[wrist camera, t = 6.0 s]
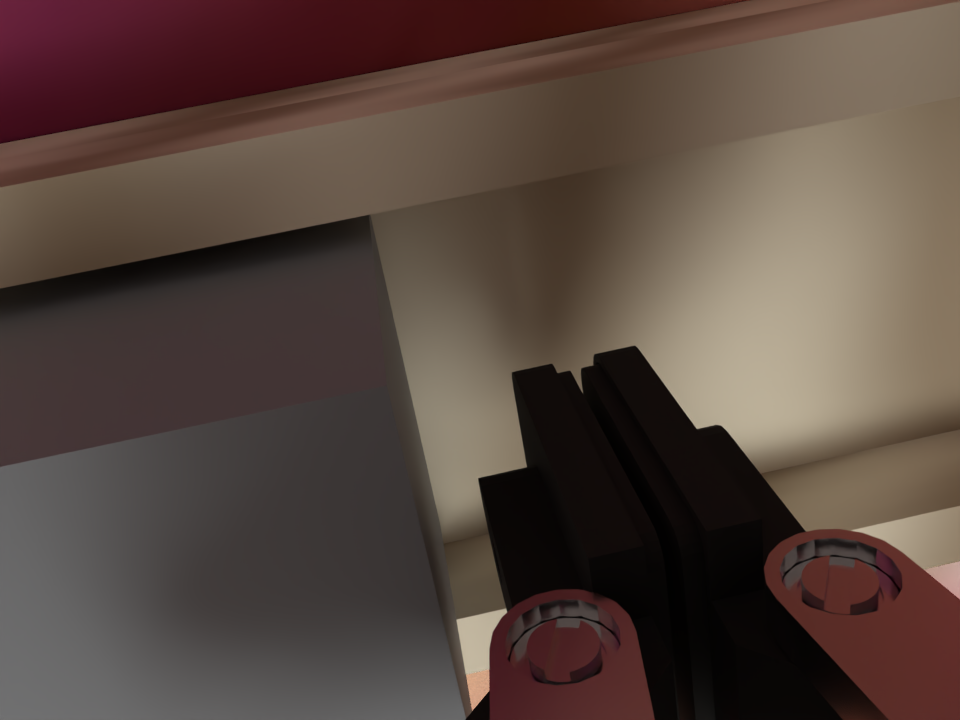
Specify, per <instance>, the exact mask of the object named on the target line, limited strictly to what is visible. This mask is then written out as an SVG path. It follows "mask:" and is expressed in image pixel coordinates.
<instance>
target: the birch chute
mask: <svg viewBox="0 0 960 720" xmlns="http://www.w3.org/2000/svg"><path fill="white" fill-rule="evenodd" d="M365 215H371V220H372V224H373V229H374V233H375V238H376V242H377V247H378V251H379V255H380V260H381V264H382V269H383V273H384V278H385V282H386V286H387V291H388V295H389V300H390V304H391V309H392V313H393V318H394V322H395V326H396V331H397V335H398V340H399V344H400V349H401V353H402V357H403V362H404V366H405V371H406V375H407V380H408V384H409V389H410V393H411V397H412V402H413V406H414V411H415V415H416V420H417V424H418V428H419V433H420V437H421V442H422V446H423V451H424V455H425V460H426V464H427V468H428V473H429V477H430V482H431V486H432V491H433V495H434V499H435V504H436V508H437V513H438V517H439V522H440V526H441V532H442V538H443V544H444V550H445V556H446V561H447V567H448V573H449V579H450V585H451V591H452V597H453V603H454V609H455V614H456V620H457V626H458V632H459V638H460V644H461V650H462V656H463V661H464V667H465V673H466V675H467V674H471V673H475V672H480V671H484V670H489V648H490V643H491V638H492V633H493V631H494V629H495V627H496V626H497V624H498V623H499V621H500V620H501V618H502V616H504V615H505V614H506V613H507V610H506V606H505V602H504V598H503V594H502V590H501V586H500V582H499V577H498V573H497V569H496V564H495V560H494V555H493V551H492V546H491V542H490V537H489V532H488V527H487V522H486V517H485V513H484V508H483V503H482V498H481V493H480V487H479V482H478V478H481V477H485V476H490V475H494V474H499V473H503V472H508V471H512V470H517V469H521V468H526V467H527V465H526V459H525V453H524V448H523V442H522V436H521V430H520V424H519V419H518V413H517V407H516V401H515V395H514V389H513V383H512V372H515V371H519V370H524V369H529V368H533V367H538V366H542V365H547V364H553V365H554V367H555V369H556V371H557V373H560V372H565V371H571V372H572V374H573V376H574V378H575V380H576V382H577V384H578V385H579V387H580V389H581V391H582V393H583V389H582V382H581V368H583V367H588V366H592V365H593V357H594V354H597V353H602V352H607V351H611V350H616V349H620V348H625V347H630V346H636V347H637V348H638V349H639V350H640V351H641V353H642V354H643V356H644V357H645V358H646V360H647V361H648V363H649V364H650V365H651V367H652V368H653V369H654V371H655V372H656V374H657V375H658V376H659V378H660V379H661V380H662V382H663V383H664V385H665V386H666V387H667V389H668V390H669V391H670V393H671V394H672V396H673V397H674V398H675V400H676V401H677V402H678V404H679V405H680V407H681V408H682V409H683V411H684V412H685V413H686V415H687V416H688V418H689V419H690V420H691V422H692V423H693V424H694V426H695V427H696V429H700V428H704V427H709V426H713V425H721V426H722V427H723V428H724V429H725V430H726V431H727V432H728V433H729V434H730V435H731V437H732V438H733V439H734V440H735V442H736V443H737V444H738V446H739V447H740V448H741V449H742V451H743V452H744V453H745V455H746V456H747V457H748V458H749V460H750V461H751V462H752V463H753V465H754V466H755V467H756V469H757V470H758V471H759V472H760V474H761V475H762V476H763V477H764V479H765V480H766V481H767V483H768V484H769V485H770V486H771V488H772V489H773V490H774V492H775V493H776V494H777V495H778V497H779V498H780V499H781V500H782V502H783V503H784V504H785V506H786V507H787V508H788V509H789V511H790V512H791V513H792V514H793V516H794V517H795V518H796V520H797V521H798V522H799V523H800V525H801V526H802V527H803V528H804V530H805V531H806V532H808V531H812V530H817V529H843V530H849V531H855V532H862V533H865V534H868V535H870V536H873V537H876V538H879V539H881V540H884V541H886V542H887V543H889V544H890V545H892V546H894V547H895V548H897V549H898V550H900V551H901V552H903V553H904V554H905V555H906V556H908V557H909V558H910V559H911V560H912V561H914V562H915V563H916V564H917V565H919V566H920V567H921V568H922V569H923V570H924V569H928V568H932V567H937V566H941V565H945V564H950V563H954V562H958V561H960V0H749V1H744V2H739V3H734V4H728V5H723V6H718V7H713V8H707V9H702V10H697V11H692V12H687V13H681V14H676V15H671V16H666V17H660V18H655V19H650V20H645V21H640V22H634V23H629V24H624V25H619V26H613V27H608V28H603V29H598V30H592V31H587V32H582V33H577V34H572V35H566V36H561V37H556V38H551V39H545V40H540V41H535V42H530V43H525V44H519V45H514V46H509V47H504V48H498V49H493V50H488V51H483V52H478V53H472V54H467V55H462V56H457V57H451V58H446V59H441V60H436V61H430V62H425V63H420V64H415V65H410V66H404V67H399V68H394V69H389V70H383V71H378V72H373V73H368V74H363V75H357V76H352V77H347V78H342V79H336V80H331V81H326V82H321V83H315V84H310V85H305V86H300V87H295V88H289V89H284V90H279V91H274V92H268V93H263V94H258V95H253V96H248V97H242V98H237V99H232V100H227V101H221V102H216V103H211V104H206V105H201V106H195V107H190V108H185V109H180V110H174V111H169V112H164V113H159V114H153V115H148V116H143V117H138V118H133V119H127V120H122V121H117V122H112V123H106V124H101V125H96V126H91V127H86V128H80V129H75V130H70V131H65V132H59V133H54V134H49V135H44V136H39V137H33V138H28V139H23V140H18V141H12V142H7V143H2V144H0V288H5V287H10V286H15V285H20V284H25V283H30V282H35V281H40V280H45V279H50V278H55V277H60V276H65V275H70V274H75V273H80V272H85V271H90V270H95V269H100V268H105V267H110V266H115V265H120V264H125V263H130V262H135V261H140V260H145V259H150V258H155V257H160V256H165V255H170V254H175V253H180V252H185V251H190V250H195V249H200V248H205V247H210V246H215V245H220V244H225V243H230V242H235V241H240V240H245V239H250V238H255V237H260V236H265V235H270V234H275V233H280V232H285V231H290V230H295V229H300V228H305V227H310V226H315V225H320V224H325V223H330V222H335V221H340V220H345V219H350V218H355V217H360V216H365Z"/></svg>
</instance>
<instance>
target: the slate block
mask: <svg viewBox="0 0 960 720" xmlns="http://www.w3.org/2000/svg"><path fill="white" fill-rule="evenodd" d="M471 712H472V708H471V703H470V697H469V691H468V685H467V679H466V673H465V667H464V661H463V656H462V650H461V644H460V638H459V632H458V626H457V620H456V614H455V609H454V603H453V597H452V591H451V585H450V579H449V573H448V567H447V561H446V556H445V550H444V544H443V538H442V532H441V526H440V522H439V517H438V513H437V508H436V504H435V499H434V495H433V491H432V486H431V482H430V477H429V473H428V468H427V464H426V460H425V455H424V451H423V446H422V442H421V437H420V433H419V428H418V424H417V420H416V415H415V411H414V406H413V402H412V397H411V393H410V389H409V384H408V380H407V375H406V371H405V366H404V362H403V357H402V353H401V349H400V344H399V340H398V335H397V331H396V326H395V322H394V318H393V313H392V309H391V304H390V300H389V295H388V291H387V286H386V282H385V278H384V273H383V269H382V264H381V260H380V255H379V251H378V247H377V242H376V238H375V233H374V229H373V224H372V220H371V215H365V216H360V217H355V218H350V219H345V220H340V221H335V222H330V223H325V224H320V225H315V226H310V227H305V228H300V229H295V230H290V231H285V232H280V233H275V234H270V235H265V236H260V237H255V238H250V239H245V240H240V241H235V242H230V243H225V244H220V245H215V246H210V247H205V248H200V249H195V250H190V251H185V252H180V253H175V254H170V255H165V256H160V257H155V258H150V259H145V260H140V261H135V262H130V263H125V264H120V265H115V266H110V267H105V268H100V269H95V270H90V271H85V272H80V273H75V274H70V275H65V276H60V277H55V278H50V279H45V280H40V281H35V282H30V283H25V284H20V285H15V286H10V287H5V288H0V720H465V719H466V718H467V717H468V716H469V715H470V714H471Z"/></svg>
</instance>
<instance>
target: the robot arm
mask: <svg viewBox="0 0 960 720" xmlns="http://www.w3.org/2000/svg"><path fill="white" fill-rule="evenodd" d="M581 382H582V389H583V393H582V391H581V389H580V387H579V385H578V384H577V382H576V380H575V378H574V376H573V374H572V372H571V371H565V372H560V373H557V371H556V369H555V367H554V365H553V364H547V365H542V366H538V367H533V368H529V369H524V370H519V371H515V372H512V383H513V389H514V395H515V401H516V407H517V413H518V419H519V424H520V430H521V436H522V442H523V448H524V453H525V459H526V465H527V467H526V468H521V469H517V470H512V471H508V472H503V473H499V474H494V475H490V476H485V477H481V478H478V482H479V487H480V493H481V498H482V503H483V508H484V513H485V517H486V522H487V527H488V532H489V537H490V542H491V546H492V551H493V555H494V560H495V564H496V569H497V573H498V577H499V582H500V586H501V590H502V594H503V598H504V602H505V606H506V610H507V613H506V614H505V615H504V616H502V618H501V620H500V621H499V623H498V624H497V626H496V627H495V629H494V631H493V633H492V638H491V643H490V648H489V676H490V691H489V692H488V693H487V694H486V696H485V697H484V698H483V699H482V700H481V702H480V703H479V704H478V705H477V706H476V708H475V709H474V710H473V711H472V712H471V714H470V715H469V716H468V717H467V718H466V719H465V720H960V599H959V598H957V597H956V596H955V595H954V594H952V593H951V592H950V591H949V590H948V589H946V588H945V587H944V586H943V585H942V584H940V583H939V582H938V581H937V580H935V579H934V578H933V577H932V576H931V575H929V574H928V573H927V572H926V571H925V570H923V569H922V568H921V567H920V566H919V565H917V564H916V563H915V562H914V561H912V560H911V559H910V558H909V557H908V556H906V555H905V554H904V553H903V552H901V551H900V550H898V549H897V548H895V547H894V546H892V545H890V544H889V543H887V542H886V541H884V540H881V539H879V538H876V537H873V536H870V535H868V534H865V533H862V532H855V531H849V530H843V529H817V530H812V531H808V532H806V531H805V530H804V528H803V527H802V526H801V525H800V523H799V522H798V521H797V520H796V518H795V517H794V516H793V514H792V513H791V512H790V511H789V509H788V508H787V507H786V506H785V504H784V503H783V502H782V500H781V499H780V498H779V497H778V495H777V494H776V493H775V492H774V490H773V489H772V488H771V486H770V485H769V484H768V483H767V481H766V480H765V479H764V477H763V476H762V475H761V474H760V472H759V471H758V470H757V469H756V467H755V466H754V465H753V463H752V462H751V461H750V460H749V458H748V457H747V456H746V455H745V453H744V452H743V451H742V449H741V448H740V447H739V446H738V444H737V443H736V442H735V440H734V439H733V438H732V437H731V435H730V434H729V433H728V432H727V431H726V430H725V429H724V428H723V427H722V426H721V425H713V426H709V427H704V428H700V429H696V427H695V426H694V424H693V423H692V422H691V420H690V419H689V418H688V416H687V415H686V413H685V412H684V411H683V409H682V408H681V407H680V405H679V404H678V402H677V401H676V400H675V398H674V397H673V396H672V394H671V393H670V391H669V390H668V389H667V387H666V386H665V385H664V383H663V382H662V380H661V379H660V378H659V376H658V375H657V374H656V372H655V371H654V369H653V368H652V367H651V365H650V364H649V363H648V361H647V360H646V358H645V357H644V356H643V354H642V353H641V351H640V350H639V349H638V348H637V347H636V346H630V347H625V348H620V349H616V350H611V351H607V352H602V353H597V354H594V357H593V365H592V366H588V367H583V368H581Z"/></svg>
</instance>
